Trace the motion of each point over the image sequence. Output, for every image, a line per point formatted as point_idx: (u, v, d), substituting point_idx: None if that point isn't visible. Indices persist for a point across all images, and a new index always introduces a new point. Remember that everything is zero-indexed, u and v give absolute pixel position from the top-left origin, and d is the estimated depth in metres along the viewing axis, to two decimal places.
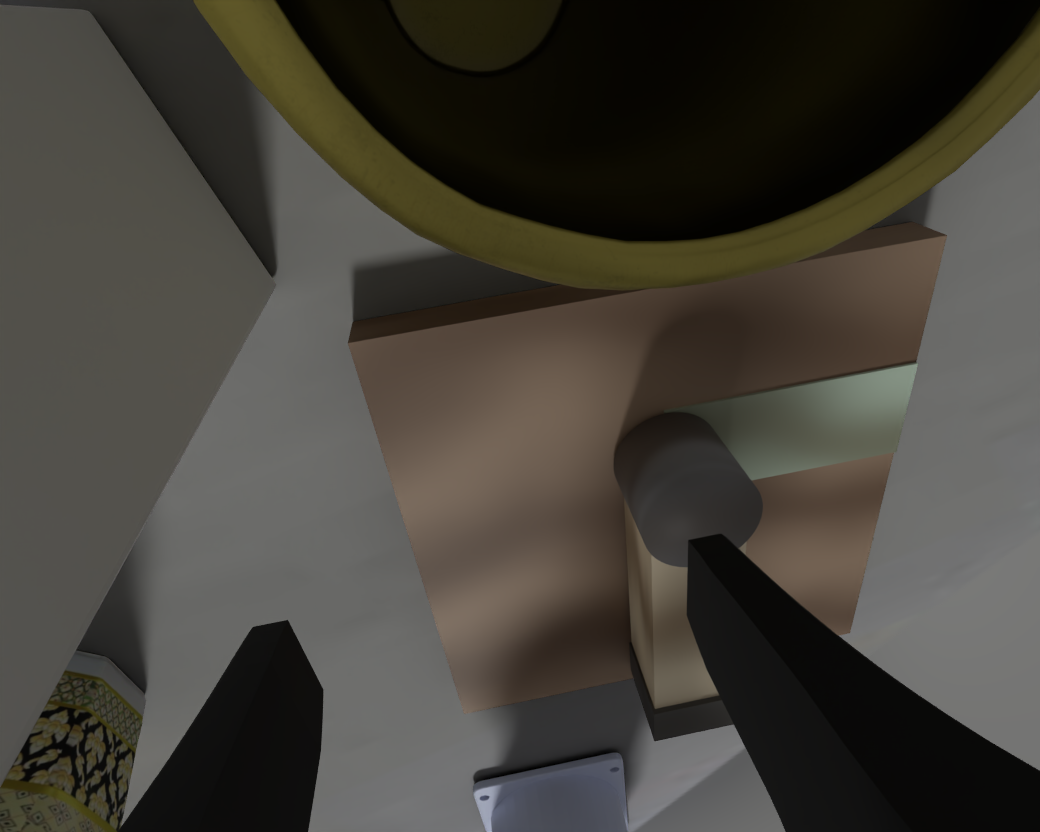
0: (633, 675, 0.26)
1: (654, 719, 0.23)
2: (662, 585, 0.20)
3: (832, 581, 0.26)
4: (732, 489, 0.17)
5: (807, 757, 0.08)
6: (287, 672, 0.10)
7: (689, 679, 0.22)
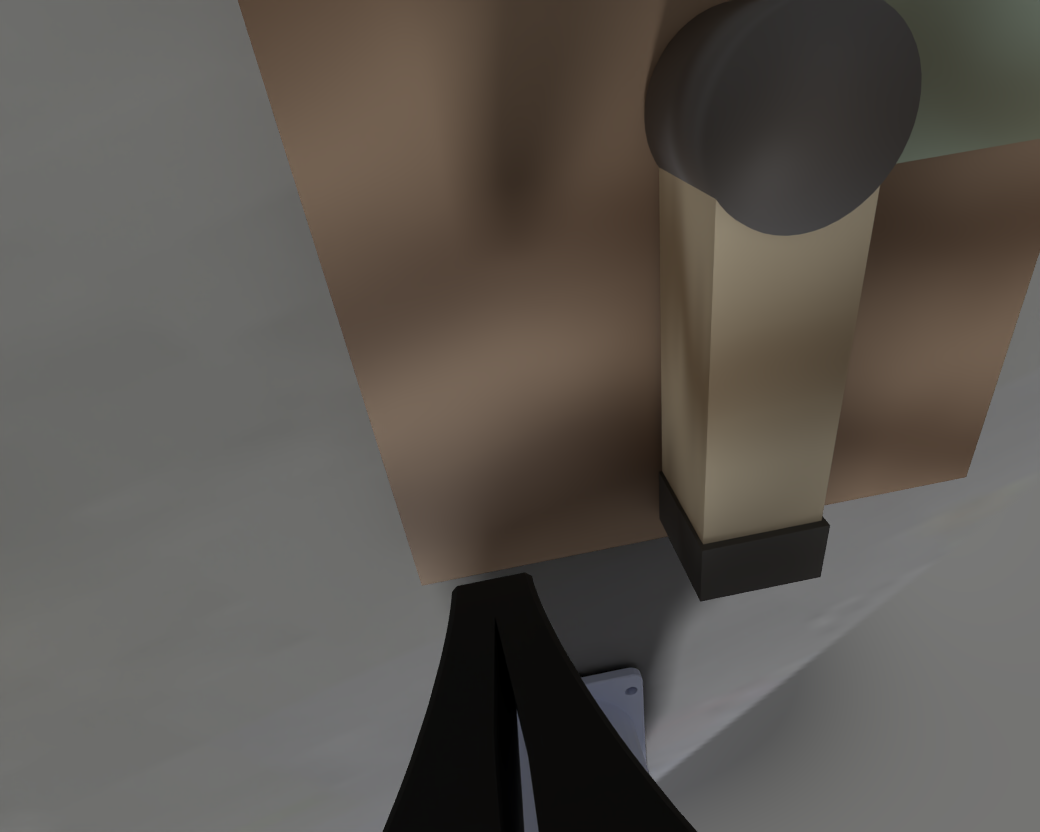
0: (664, 524, 0.18)
1: (702, 561, 0.15)
2: (730, 281, 0.12)
3: (953, 382, 0.18)
4: (873, 42, 0.10)
5: None
6: None
7: (759, 490, 0.14)
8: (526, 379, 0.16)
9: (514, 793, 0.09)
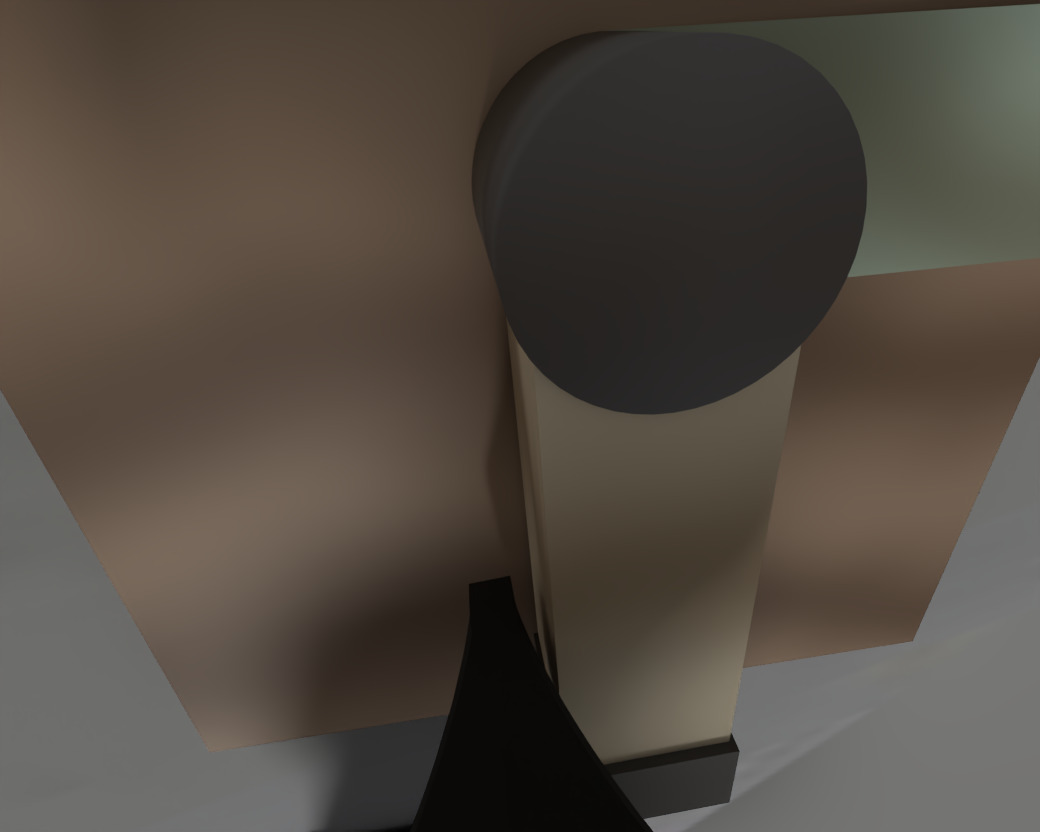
0: None
1: None
2: (569, 471, 0.07)
3: (903, 540, 0.14)
4: (782, 126, 0.05)
5: None
6: None
7: (639, 713, 0.10)
8: (328, 522, 0.11)
9: None
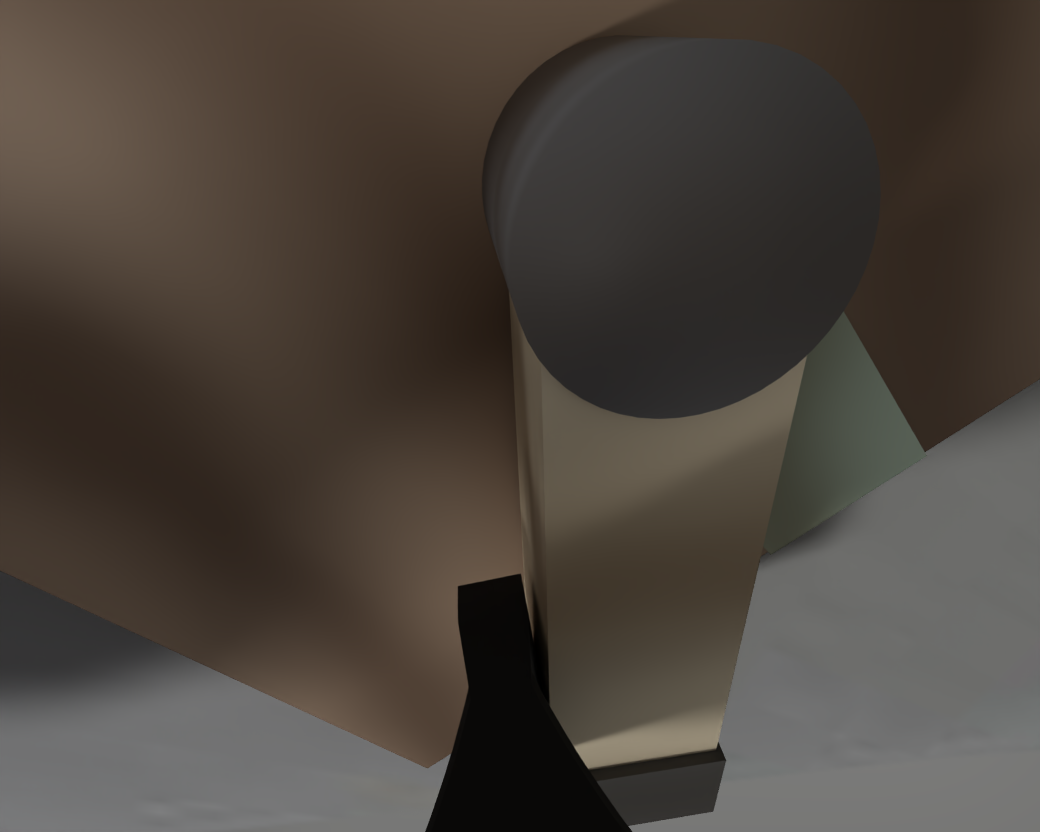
0: None
1: None
2: (571, 473, 0.07)
3: None
4: (800, 136, 0.05)
5: None
6: None
7: (628, 719, 0.10)
8: (35, 188, 0.08)
9: None
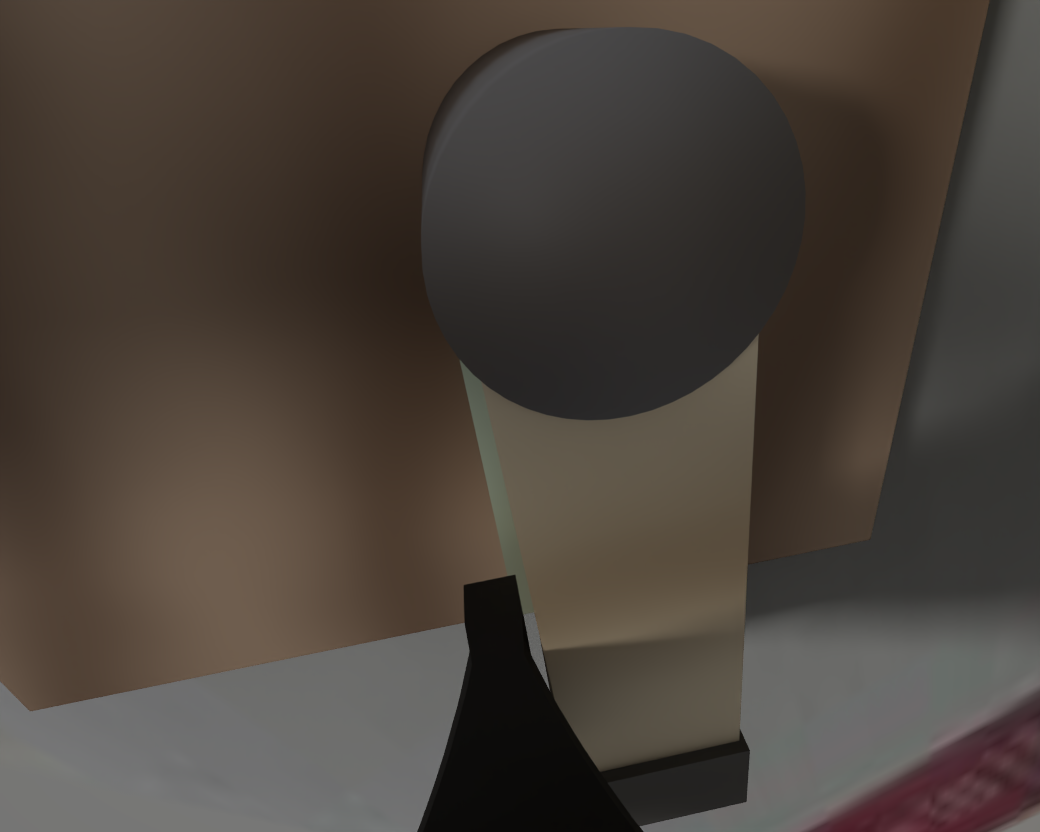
0: None
1: None
2: (533, 480, 0.07)
3: (183, 631, 0.12)
4: (703, 117, 0.05)
5: None
6: (524, 624, 0.10)
7: (640, 717, 0.10)
8: None
9: None
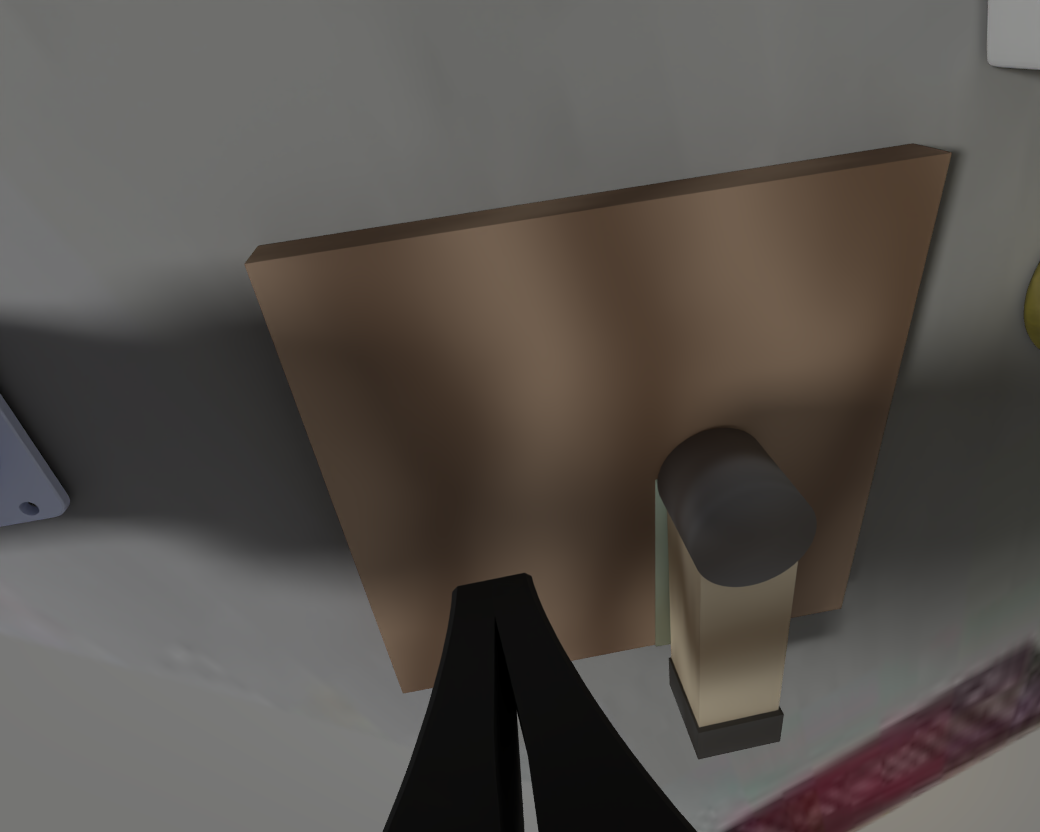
0: (673, 691, 0.26)
1: (698, 738, 0.23)
2: (710, 604, 0.19)
3: None
4: (786, 508, 0.17)
5: None
6: None
7: (735, 697, 0.22)
8: (524, 367, 0.17)
9: (514, 793, 0.09)
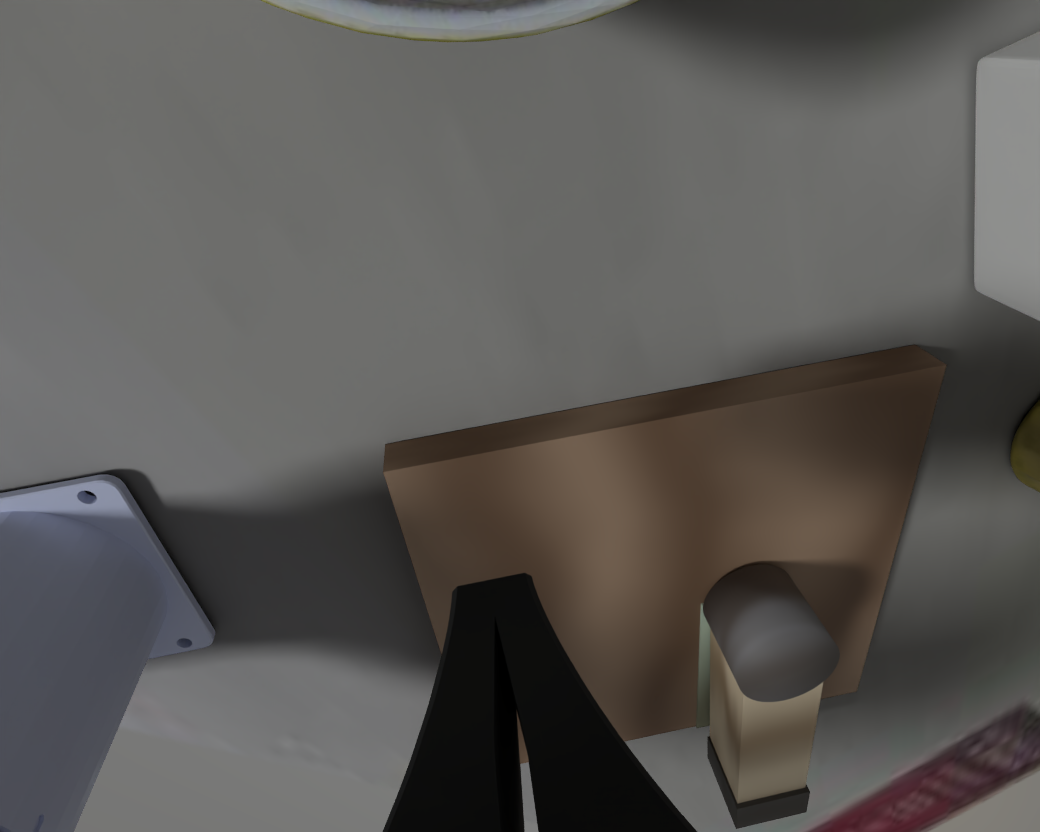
0: (711, 764, 0.29)
1: (737, 812, 0.27)
2: (751, 713, 0.23)
3: None
4: (815, 645, 0.21)
5: None
6: None
7: (768, 780, 0.26)
8: (597, 529, 0.21)
9: (514, 793, 0.09)
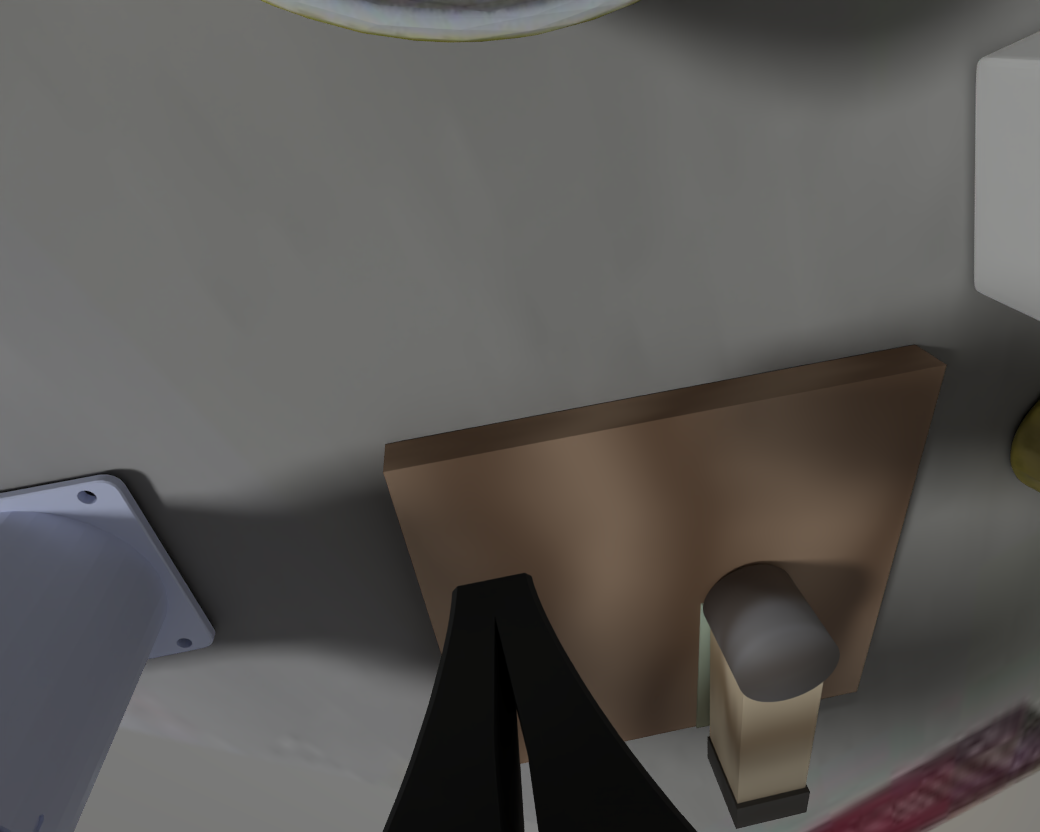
0: (711, 764, 0.29)
1: (737, 812, 0.27)
2: (751, 713, 0.23)
3: None
4: (815, 645, 0.21)
5: None
6: None
7: (768, 780, 0.26)
8: (597, 529, 0.21)
9: (514, 793, 0.09)
